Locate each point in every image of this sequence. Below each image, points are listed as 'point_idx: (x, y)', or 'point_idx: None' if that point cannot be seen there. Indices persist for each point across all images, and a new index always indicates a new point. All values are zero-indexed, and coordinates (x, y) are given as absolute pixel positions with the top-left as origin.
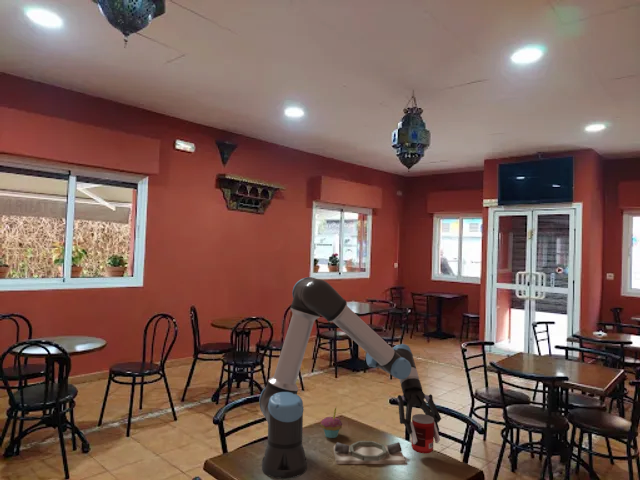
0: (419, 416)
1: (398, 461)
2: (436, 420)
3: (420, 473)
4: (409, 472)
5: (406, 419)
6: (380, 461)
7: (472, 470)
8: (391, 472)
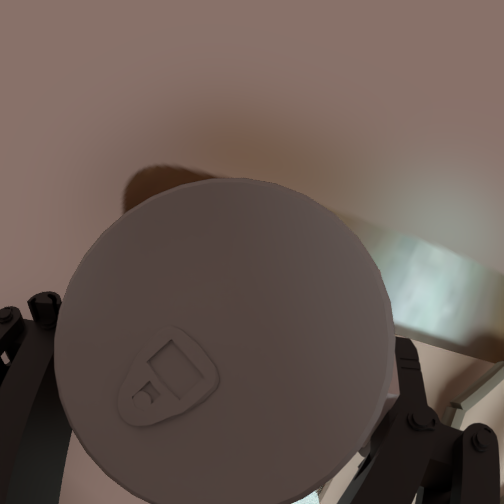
0: (192, 458)
1: (419, 343)
2: (55, 293)
3: (363, 228)
4: (405, 252)
5: (428, 457)
6: (488, 363)
7: (137, 185)
8: (472, 277)
